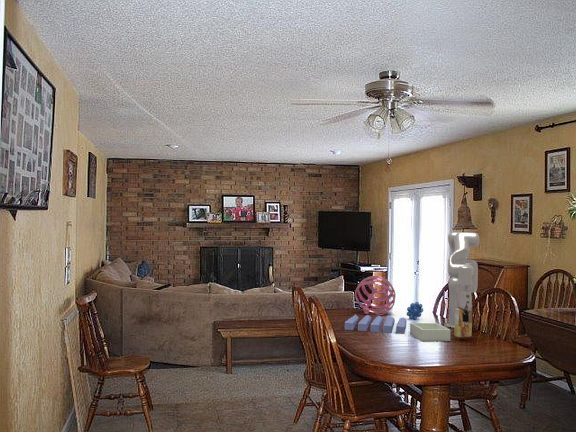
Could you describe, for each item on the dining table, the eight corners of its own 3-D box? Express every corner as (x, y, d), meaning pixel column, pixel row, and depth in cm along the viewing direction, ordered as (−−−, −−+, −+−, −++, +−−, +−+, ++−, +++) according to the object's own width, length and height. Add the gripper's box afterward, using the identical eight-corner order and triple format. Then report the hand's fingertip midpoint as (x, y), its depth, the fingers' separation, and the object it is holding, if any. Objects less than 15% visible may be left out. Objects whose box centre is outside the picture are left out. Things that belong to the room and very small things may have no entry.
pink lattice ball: (381, 290, 371) (389, 265, 392) (344, 296, 386) (353, 271, 407) (397, 321, 382) (404, 295, 403) (360, 326, 396) (369, 301, 417)
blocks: (344, 330, 335) (344, 322, 335) (351, 320, 369) (352, 313, 369) (404, 335, 327) (404, 326, 327) (406, 324, 360) (406, 317, 360)
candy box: (467, 335, 319) (467, 307, 318) (471, 336, 315) (472, 309, 314) (453, 335, 316) (454, 308, 315) (458, 337, 312) (459, 309, 311)
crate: (436, 334, 329) (437, 323, 329) (450, 341, 309) (450, 329, 309) (410, 334, 328) (410, 322, 328) (421, 341, 308) (422, 329, 308)
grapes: (420, 318, 383) (421, 300, 383) (424, 320, 376) (424, 302, 376) (404, 318, 381) (404, 300, 381) (407, 320, 374) (408, 302, 374)
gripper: (477, 290, 307) (476, 323, 307) (464, 285, 324) (463, 317, 324) (464, 290, 306) (463, 323, 306) (451, 285, 323) (450, 317, 323)
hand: (463, 320), depth 315 cm, fingers closed on candy box, 5 cm apart
